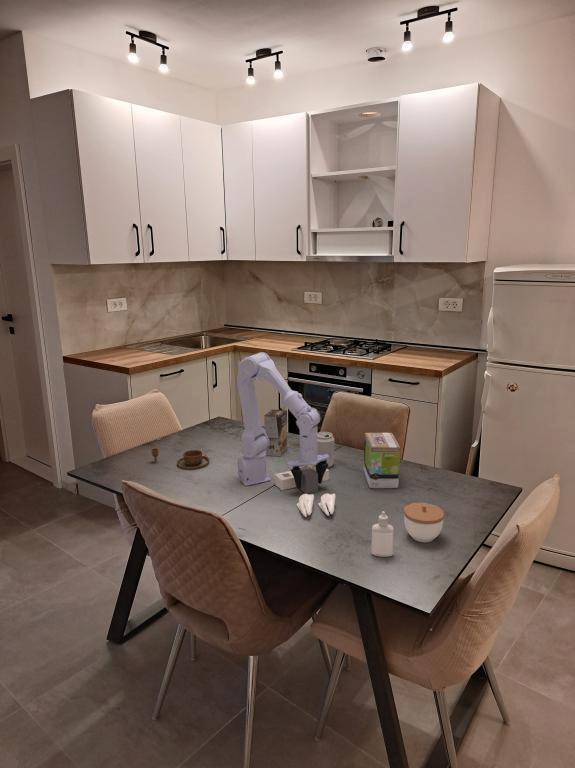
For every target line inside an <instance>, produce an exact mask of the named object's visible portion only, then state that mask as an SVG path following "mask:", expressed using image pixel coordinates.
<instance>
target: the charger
mask: <svg viewBox="0 0 575 768" xmlns="http://www.w3.org/2000/svg"><path fill="white" fill-rule="evenodd" d="M299 468H300V467H299ZM300 470H301V471H302V476H301V488H300V489H299V490H300V491H301V490H302V491H301V492H302V493H303V494H308V493H309V494H314V493H317V491H318V492H319V483H318V473H317V472H316V471H315V470H313V469H312V468H310V467H307V466H304V467H302V468H300Z"/></svg>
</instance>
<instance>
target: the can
mask: <svg viewBox="0 0 575 768" xmlns="http://www.w3.org/2000/svg"><path fill="white" fill-rule="evenodd" d="M325 454H327V455H328V456H329V462H326V463H328V468H327V469H330V468H331V467H332V466H333V465H334V464H335V437H334V436H333V433H332V432H328V431H319V432H317V455H325Z"/></svg>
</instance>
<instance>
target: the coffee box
mask: <svg viewBox="0 0 575 768" xmlns="http://www.w3.org/2000/svg"><path fill="white" fill-rule="evenodd" d="M263 417H264V419H263V420H264V429H265V432H266V435H267V437H268V439H269V446H268V448H267V449H266V456H269V457H270V456H271V457H281V456H282V455H283V454H284V453H285V452H286V451H287V450H288V410H287V409H286V410H285V409H274V408H273V409H271V410H270V411H268V412H267V413H265V414H264V416H263Z"/></svg>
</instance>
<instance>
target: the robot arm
mask: <svg viewBox="0 0 575 768" xmlns="http://www.w3.org/2000/svg"><path fill="white" fill-rule="evenodd" d="M257 379H264V380H267V381H268V382H269V383H270V384H271V385H272V386H273V388H275V390H276V391H277V392H279V393H278V394H280V395H281V396H282V397H283V404H284V405H285V407H286V408H287V409H288V410H289V412H290V413H291V414H292V415H293V417H295V418H296V420H295V423H296V426H297V428H298V429H299V457H298V458H295V459H293V460H289V461H287V462H286V465H287V466H286V467H287V468H288V469H289V471H291V472H292V474H293V477H294V480H295V483H296V487H295V488H297V489H299V490H300V488H301V476H302V471H301V470H300V467H307V465H315V466H316V472H317V473H318V485H321V484H322V482H323V481H322V479H323V476H324V473H325V471H326V469H329V468H328V463H326V462H329V456H328V455H327V454H325V455H317V433H318V424H319V423H320V421H321V415H320V412H319V411H318V410H317V408H314V407H311V405H309V404H308V403H307V401H305V399H304V398H303V394H301V393H299V391H297V390H292V388H291V387H290V386H289V384H288V383H287V382H286V380H285V379H284V377H283V376H282V375H281V373H280V372H279V371H278V369H277V367H276V364H275V362H274V360H273V359H271V357H270V356H269V354H268V353H267V352H263V351H260V352H257V353H255V354H253V355H250V356H246V357H243V358H242V360H240V362H239V363H238V373H237V377H236V381H237V388H238V389H237V390H238V394H239V395H238V396H239V401H240V407H241V413H242V420H243V427H244V431H243V432H242V434H241V438H240V439H241V444H240V452H241V453H242V455H243V456H241V457H238V458H237V479H238V480H240V481H239V482H241V483H242V484H243V485H244V486H246V487H247V486H252V485H256V484H261V483H266V482H269V481H271V480H272V479H271V478H270V477H269V476H268V475H267V455H266V449H267V448H268V446H269V439H268V437H267V435H266V432H265V427H262V426H261V418H260V414H259V413H260V412H259V408H258V407H259V406H258V399H257V393H256V387H255V381H256V380H257Z"/></svg>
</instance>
